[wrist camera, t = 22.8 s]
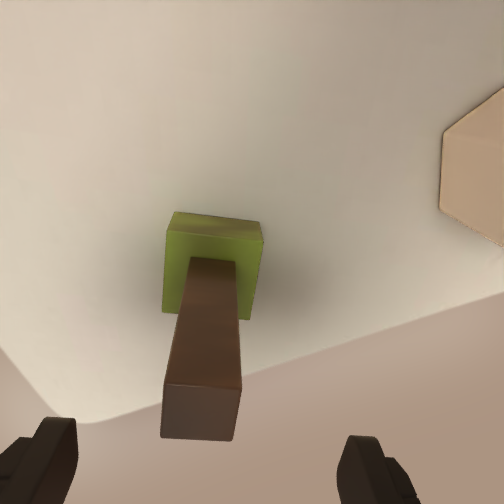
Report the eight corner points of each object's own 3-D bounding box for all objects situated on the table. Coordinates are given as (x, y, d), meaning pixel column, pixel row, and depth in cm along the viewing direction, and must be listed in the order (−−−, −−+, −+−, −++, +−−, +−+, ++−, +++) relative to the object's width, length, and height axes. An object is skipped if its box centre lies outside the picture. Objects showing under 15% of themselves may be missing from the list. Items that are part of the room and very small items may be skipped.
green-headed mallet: (259, 221, 22) (292, 358, 11) (247, 293, 24) (264, 470, 13) (174, 211, 21) (118, 344, 10) (169, 286, 23) (118, 464, 12)
